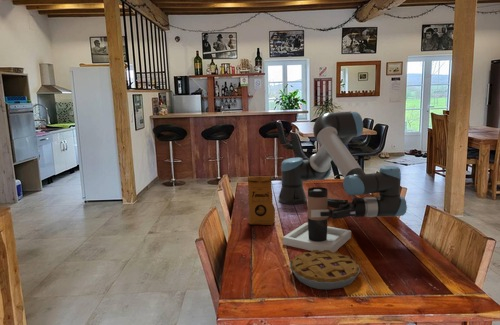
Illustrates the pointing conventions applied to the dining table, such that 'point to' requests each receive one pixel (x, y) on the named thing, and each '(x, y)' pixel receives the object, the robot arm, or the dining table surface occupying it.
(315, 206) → the travel mug
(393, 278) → the dining table surface
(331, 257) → the pie
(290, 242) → the tray
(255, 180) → the coffee package
